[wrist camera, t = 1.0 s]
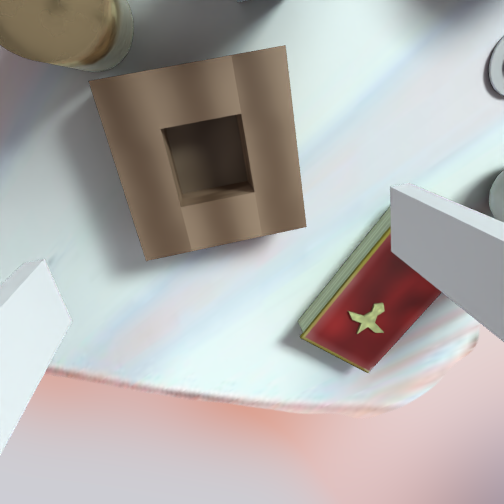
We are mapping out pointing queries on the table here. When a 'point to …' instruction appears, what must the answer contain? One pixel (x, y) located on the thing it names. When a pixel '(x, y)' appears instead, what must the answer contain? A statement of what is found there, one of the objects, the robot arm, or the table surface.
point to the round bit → (68, 31)
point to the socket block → (205, 150)
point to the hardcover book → (367, 302)
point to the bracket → (497, 67)
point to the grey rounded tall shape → (497, 197)
